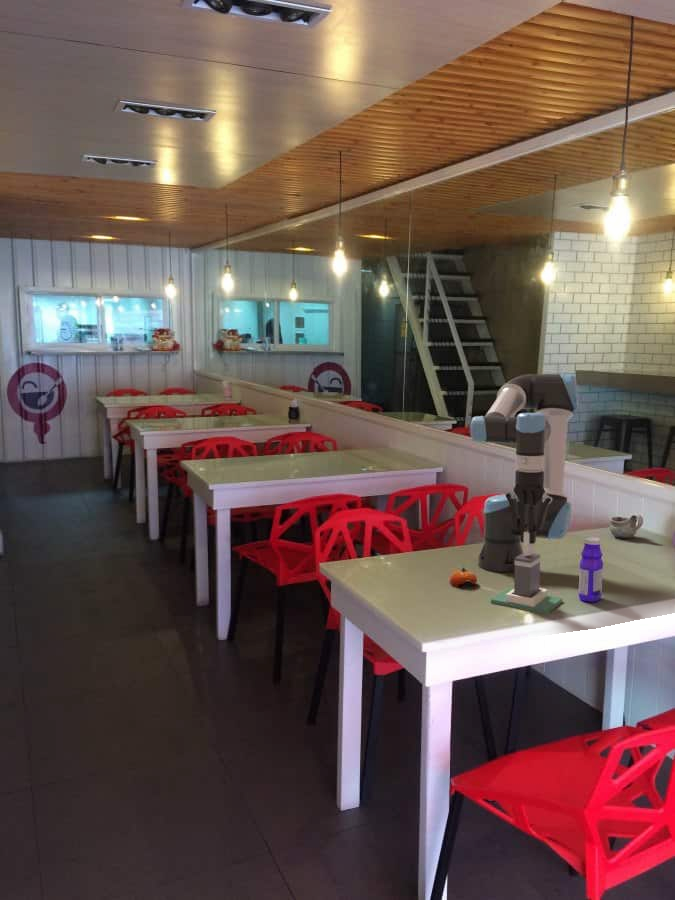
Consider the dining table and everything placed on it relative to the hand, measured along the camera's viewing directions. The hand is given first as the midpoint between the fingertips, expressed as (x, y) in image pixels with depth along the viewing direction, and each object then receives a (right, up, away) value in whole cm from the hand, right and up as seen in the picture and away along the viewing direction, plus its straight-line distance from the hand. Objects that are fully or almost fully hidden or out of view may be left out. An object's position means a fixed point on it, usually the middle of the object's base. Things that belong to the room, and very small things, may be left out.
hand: (527, 554), depth 201 cm
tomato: (-14, -12, +18) cm, 26 cm away
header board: (0, -14, +2) cm, 14 cm away
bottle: (+19, -13, +4) cm, 23 cm away
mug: (+55, -4, +70) cm, 89 cm away
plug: (0, -12, +2) cm, 13 cm away
